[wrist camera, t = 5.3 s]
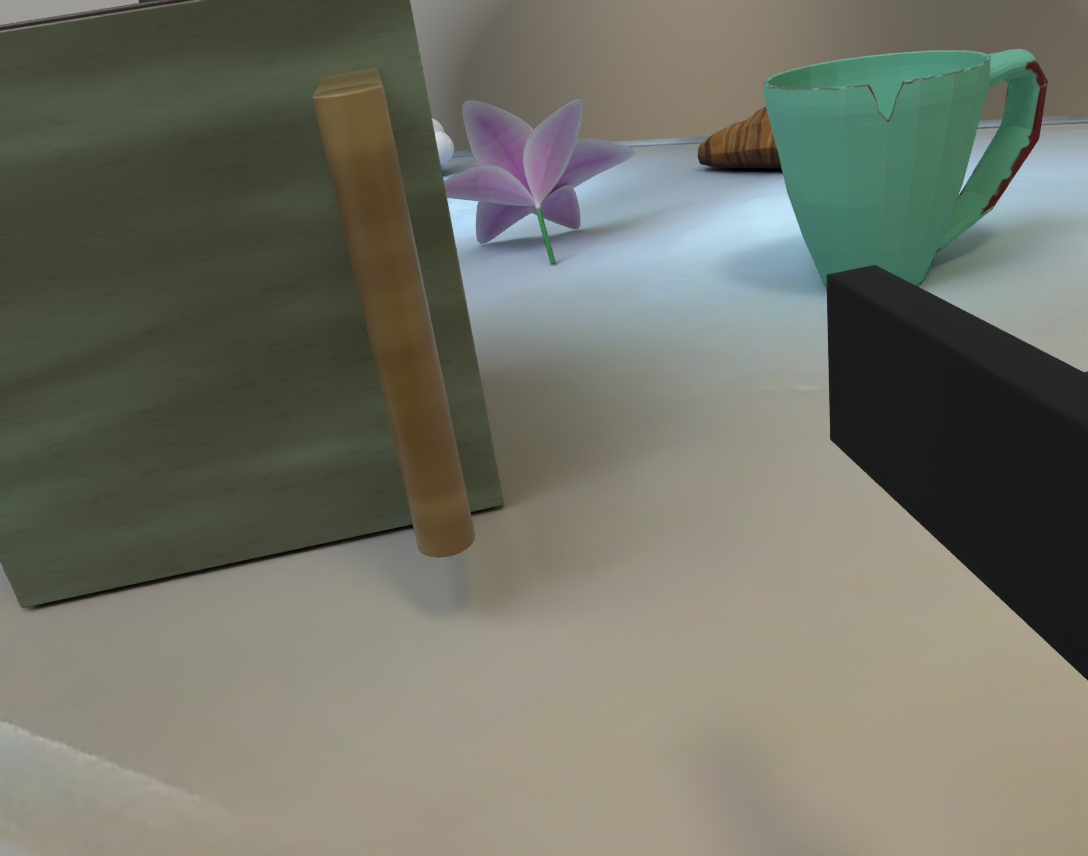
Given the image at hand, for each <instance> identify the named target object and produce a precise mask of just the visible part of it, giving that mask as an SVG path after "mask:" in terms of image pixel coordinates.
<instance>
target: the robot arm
mask: <svg viewBox="0 0 1088 856" xmlns="http://www.w3.org/2000/svg"><path fill="white" fill-rule="evenodd" d="M827 317H828V360H829V404H830V440H831V441H832V442H833V443H835V444H836V445H837V446H838V447H839V448H840V449H841V450H842V451H843V452H844V453H845V454H846V455H847V456H848V457H850V458H851V459H852V460H853V461H854V462H855V463H856V464H857V465H858V466H859V467H860V468H861V469H862V470H863V471H864V472H866V473H867V474H868V475H869V476H870V477H871V478H872V479H873V480H874V481H875V482H876V483H877V484H878V485H879V486H880V487H882V488H883V489H884V490H885V491H886V492H887V493H888V494H889V495H890V496H891V497H892V498H893V499H894V500H895V501H897V502H898V503H899V504H900V505H901V506H902V507H903V508H904V509H905V510H906V511H907V512H908V513H909V514H910V515H911V516H913V517H914V518H915V519H916V520H917V521H918V522H919V523H920V524H921V525H922V526H923V527H924V528H925V529H926V530H928V531H929V532H930V533H931V534H932V535H933V536H934V537H935V538H936V539H937V540H938V541H939V542H940V543H941V544H942V545H944V546H945V547H946V548H947V549H948V550H949V551H950V552H951V553H952V554H953V555H954V556H955V557H956V558H957V559H958V560H960V561H961V562H962V563H963V564H964V565H965V566H966V567H967V568H968V569H969V570H970V571H971V572H972V573H973V574H975V575H976V576H977V577H978V578H979V579H980V580H981V581H982V582H983V583H984V584H985V585H986V586H987V587H988V588H989V589H991V590H992V591H993V592H994V593H995V594H996V595H997V596H998V597H999V598H1000V599H1001V600H1002V601H1003V602H1004V603H1005V604H1007V605H1008V606H1009V607H1010V608H1011V609H1012V610H1013V611H1014V612H1015V613H1016V614H1017V615H1018V616H1019V617H1020V618H1022V619H1023V620H1024V621H1025V622H1026V623H1027V624H1028V625H1029V626H1030V627H1031V628H1032V629H1033V630H1034V631H1035V632H1036V633H1038V634H1039V635H1040V636H1041V637H1042V638H1043V639H1044V640H1045V641H1046V642H1047V643H1048V644H1049V645H1050V646H1051V647H1053V648H1054V649H1055V650H1056V651H1057V652H1058V653H1059V654H1060V655H1061V656H1062V657H1063V658H1064V659H1065V660H1066V661H1067V662H1069V663H1070V664H1071V665H1072V666H1073V667H1074V668H1075V669H1076V670H1077V671H1078V672H1079V673H1080V674H1081V675H1082V676H1083V677H1085V678H1086V679H1087V680H1088V371H1087V372H1082V371H1080V370H1078V369H1076V368H1074V367H1073V366H1071V365H1069V364H1067V363H1065V362H1063V361H1061V360H1059V359H1057V358H1055V357H1053V356H1051V355H1049V354H1047V353H1045V352H1043V351H1041V350H1040V349H1038V348H1036V347H1034V346H1032V345H1030V344H1028V343H1026V342H1024V341H1022V340H1020V339H1018V338H1016V337H1014V336H1012V335H1010V334H1009V333H1007V332H1005V331H1003V330H1001V329H999V328H997V327H995V326H993V325H991V324H989V323H987V322H985V321H983V320H981V319H979V318H977V317H976V316H974V315H972V314H970V313H968V312H966V311H964V310H962V309H960V308H958V307H956V306H954V305H952V304H950V303H948V302H946V301H945V300H943V299H941V298H939V297H937V296H935V295H933V294H931V293H929V292H927V291H925V290H923V289H921V288H919V287H917V286H915V285H913V284H912V283H910V282H908V281H906V280H904V279H902V278H900V277H898V276H896V275H894V274H892V273H890V272H888V271H886V270H884V269H882V268H881V267H879V266H877V265H871V266H866V267H861V268H856V269H851V270H846V271H841V272H836V273H831V274H827Z"/></svg>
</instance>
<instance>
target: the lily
mask: <svg viewBox="0 0 1088 856" xmlns="http://www.w3.org/2000/svg"><path fill="white" fill-rule="evenodd" d="M462 110H463V119H464V124H465V129H466V132H467V136H468V139H469V143H470V146H471V149H472V152H473V155H474V157H475V159H476V162H477V164H478V165H479V166H475V167H473V168H470V169H467V170H465V171H463V172H461V173H459V174H457V175H455V176H453V177H451V178H449V179H447V180H446V181H444V186H445V191H446V196H447V198H454V199H463V200H472V201H479V202H478V205H477V213H476V236H477V241H478V242H479V243H480V244H484V243H487V242H489V241H490V240H492V239H494V238H495V237H496V236H498V235H499V234H501V233H502V232H503V231H505V230H506V229H508V228H509V227H510V226H512V225H513V224H514V223H516V222H517V221H519V220H521V219H522V218H524V217H525V216H527V215H529V214H530V213H533V214H535V215H537V216H538V219H539V223H540V227H541V231H542V234H543V238H544V242H545V245H546V249H547V252H548V255H549V259H550V262H551V264H555V263H556V262H555V259H554V255H553V252H552V248H551V245H550V241H549V238H548V234H547V231H546V227H545V223H544V220H543V218H545V219H547V220H549V221H552V222H554V223H557V224H560V225H562V226H565V227H568V228H571V229H579V227H580V211H579V205H578V200H577V196H576V193H575V191H574V189H573V188H574V187H576V186H578V185H579V184H581V183H583V182H585V181H586V180H588V179H590V178H592V177H593V176H595V175H597V174H599V173H601V172H603V171H606V170H608V169H610V168H612V167H614V166H616V165H618V164H620V163H622V162H624V161H626V160H628V159H629V158H631V157H633V155H634V154H635V153H636V152H635V151H634V150H633V149H632V148H630V147H628V146H625V145H622V144H618V143H614V142H610V141H604V140H598V139H579V140H577V137H578V133H579V128H580V123H581V118H582V111H583V101H582V100H581V99H578V100H574V101H572V102H570V103H568V104H566V105H565V106H563V107H562V108H560V109H559V110H557V111H556V112H555V113H553V114H552V115H551V116H549V117H548V118H547V119H545V120H544V121H543V122H542V123H541V124H540V125H539V126H538V127H536V128H535V130H533V129H532V127H530V126H529V125H528V124H526V122H524V121H523V120H522V119H520V118H518V117H516V116H514V115H513V114H511V113H509V112H506V111H504V110H502V109H499V108H497V107H494V106H491V105H489V104H486V103H483V102H478V101H472V100H471V101H466V102H465V103H464V105H463V107H462Z"/></svg>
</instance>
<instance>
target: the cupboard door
mask: <svg viewBox="0 0 1088 856" xmlns="http://www.w3.org/2000/svg"><path fill="white" fill-rule="evenodd" d="M503 503H504V502H503V496H502V491H501V486H500V480H499V475H498V470H497V464H496V459H495V453H494V448H493V443H492V437H491V432H490V427H489V421H488V416H487V411H486V405H485V400H484V395H483V389H482V384H481V378H480V373H479V368H478V362H477V357H476V352H475V346H474V341H473V336H472V330H471V325H470V319H469V314H468V309H467V303H466V298H465V293H464V287H463V282H462V277H461V271H460V266H459V261H458V255H457V250H456V244H455V239H454V234H453V228H452V223H451V218H450V212H449V207H448V202H447V196H446V191H445V186H444V180H443V175H442V169H441V164H440V159H439V153H438V148H437V143H436V137H435V132H434V127H433V121H432V116H431V111H430V105H429V100H428V95H427V89H426V84H425V78H424V73H423V68H422V63H421V57H420V52H419V47H418V41H417V35H416V31H415V25H414V20H413V14H412V9H411V3H410V0H192V1H185V2H179V3H173V4H166V5H160V6H154V7H147V8H141V9H135V10H128V11H122V12H115V13H109V14H103V15H96V16H90V17H84V18H77V19H71V20H65V21H58V22H52V23H46V24H39V25H33V26H27V27H20V28H14V29H8V30H1V31H0V562H1V564H2V566H3V569H4V571H5V573H6V575H7V577H8V579H9V582H10V584H11V586H12V588H13V590H14V593H15V595H16V597H17V599H18V601H19V603H20V606H21V607H22V608H24V607H29V606H34V605H38V604H43V603H48V602H52V601H57V600H62V599H66V598H71V597H76V596H80V595H85V594H90V593H94V592H99V591H104V590H108V589H113V588H118V587H122V586H127V585H132V584H136V583H141V582H146V581H150V580H155V579H160V578H164V577H169V576H174V575H178V574H183V573H188V572H192V571H197V570H202V569H206V568H211V567H216V566H220V565H225V564H230V563H234V562H239V561H244V560H248V559H253V558H258V557H262V556H267V555H272V554H276V553H281V552H286V551H290V550H295V549H300V548H304V547H309V546H314V545H318V544H323V543H328V542H332V541H337V540H342V539H346V538H351V537H356V536H360V535H365V534H370V533H374V532H379V531H384V530H388V529H393V528H398V527H402V526H407V525H412V524H413V528H414V532H415V536H416V540H417V545H418V548H419V550H420V551H421V552H422V553H423V554H424V555H427V556H430V557H447V556H452V555H455V554H458V553H460V552H462V551H464V550H466V549H467V548H468V547H469V546H470V545H471V544H472V543H473V541H474V539H475V532H474V527H473V522H472V517H471V512H472V511H477V510H482V509H486V508H491V507H496V506H500V505H503Z"/></svg>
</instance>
